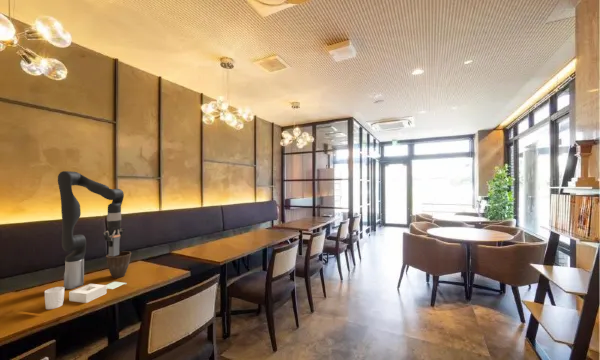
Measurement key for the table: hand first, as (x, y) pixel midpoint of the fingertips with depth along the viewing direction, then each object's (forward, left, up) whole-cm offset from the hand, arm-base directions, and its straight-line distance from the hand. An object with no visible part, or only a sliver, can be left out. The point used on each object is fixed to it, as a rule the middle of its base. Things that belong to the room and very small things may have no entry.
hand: (113, 245), depth 166 cm
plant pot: (-13, +16, -27) cm, 34 cm away
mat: (0, 0, -27) cm, 27 cm away
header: (+1, -17, -27) cm, 32 cm away
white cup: (-6, -29, -27) cm, 41 cm away
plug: (0, 0, -6) cm, 6 cm away
